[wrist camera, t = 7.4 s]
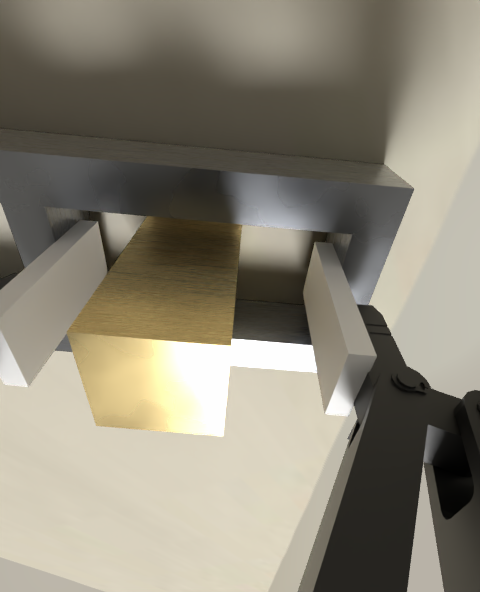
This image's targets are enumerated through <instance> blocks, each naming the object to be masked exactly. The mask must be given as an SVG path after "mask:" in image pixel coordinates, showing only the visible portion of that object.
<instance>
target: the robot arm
mask: <svg viewBox="0 0 480 592" xmlns="http://www.w3.org/2000/svg"><path fill="white" fill-rule="evenodd" d="M107 273H108V271H107V266H106V260H105V255H104V250H103V245H102V240H101V235H100V230H99V225H98V221H87V220H79V221H78V222H77V223H76V224H75V225H74V226H73V227H72V228H70V229H69V230H68V231H67V232H66V233H65V234H64V235H63V236H62V237H60V238H59V239H58V240H57V241H56V242H55V243H53V244H52V245H51V246H50V247H49V248H48V249H46V250H45V251H44V252H43V253H42V254H41V255H40V256H38V257H37V258H36V259H35V260H34V261H33V262H32V263H31V264H29V265H28V266H27V267H26V268H25V269H24V270H23V271H21V272H20V273H19V274H16V273H14V274H11V275H9V276H7V277H5V278H3V279H1V280H0V378H1V379H2V381H3V383H4V385H13V386H24V387H29V385H30V384H31V383H32V381H33V380H34V378H35V377H36V376H37V374H38V373H39V371H40V370H41V369H42V367H43V366H44V364H45V363H46V362H47V360H48V359H49V357H50V356H51V355H52V353H53V352H54V350H55V349H56V348H57V346H58V345H59V343H60V342H61V341H62V339H63V338H64V336H65V335H66V334H67V333H66V332H67V330H68V329H69V328H70V326H71V325H72V323H73V322H74V320H75V319H76V318H77V316H78V315H79V313H80V312H81V310H82V309H83V308H84V306H85V305H86V303H87V302H88V300H89V299H90V298H91V296H92V295H93V293H94V292H95V290H96V289H97V288H98V286H99V285H100V283H101V282H102V280H103V279H104V277H105V276H106V275H107ZM303 297H304V302H305V308H306V313H307V319H308V324H309V330H310V335H311V341H312V346H313V352H314V357H315V363H316V368H317V374H318V379H319V385H320V390H321V396H322V401H323V407H324V412H325V414H329V415H340V416H349V415H350V413H351V411H352V408H353V406H354V407H355V410H356V414H357V418H358V419H357V421H356V423H355V425H354V427H353V429H352V431H351V433H350V435H349V437H348V439H349V442H348V445H347V448H346V451H345V454H344V457H343V460H342V463H341V466H340V469H339V472H338V475H337V478H336V480H335V483H334V486H333V489H332V492H331V496H330V498H329V501H328V504H327V507H326V510H325V513H324V516H323V519H322V522H321V525H320V528H319V531H318V534H317V536H316V539H315V542H314V545H313V548H312V551H311V554H310V557H309V560H308V563H307V566H306V569H305V572H304V575H303V578H302V581H301V583H300V586H299V590H298V592H407V587H408V578H409V570H410V563H411V555H412V547H413V539H414V531H415V523H416V515H417V507H418V498H419V491H420V483H421V475H422V467H423V462H424V468H425V474H426V480H427V486H428V493H429V498H430V505H431V511H432V518H433V524H434V530H435V536H436V543H437V549H438V555H439V561H440V567H441V574H442V580H443V586H444V592H480V391H477V390H474V391H470V392H467V394H466V395H465V396H464V397H463V399H459V398H456V397H453V396H450V395H447V394H444V393H442V392H439V391H436V390H434V389H431V387H430V385H429V383H428V382H427V380H426V379H425V378H424V377H423V376H422V375H421V374H420V373H418V372H417V371H415V370H413V369H411V368H410V367H407V366H406V364H405V361H404V359H403V357H402V355H401V353H400V351H399V349H398V347H397V345H396V343H395V341H394V339H393V337H392V336H391V332H390V330H389V328H387V324H386V322H385V320H384V318H383V316H382V314H381V313H380V312H378V311H377V310H376V309H375V308H374V307H373V306H371V305H360V304H356V302H355V299H354V297H353V294H352V292H351V289H350V286H349V284H348V281H347V279H346V276H345V274H344V271H343V269H342V266H341V264H340V261H339V259H338V256H337V254H336V251H335V249H334V247H333V244H332V243H324V242H315V243H314V248H313V252H312V256H311V260H310V265H309V269H308V273H307V277H306V282H305V286H304V290H303Z"/></svg>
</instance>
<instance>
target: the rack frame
mask: <svg viewBox="0 0 480 592" xmlns="http://www.w3.org/2000/svg"><path fill="white" fill-rule="evenodd" d="M413 191H414V188H413V187H412V186H411V185H409V184H408V183H407V182H406V181H404V180H403V179H402V178H401V177H399V176H398V175H397V174H396V173H394V172H393V171H392V170H391V169H389V168H388V167H387V166H386V165H384V164H376V163H365V162H354V161H344V160H333V159H322V158H312V157H301V156H290V155H280V154H269V153H258V152H248V151H237V150H226V149H216V148H205V147H194V146H184V145H173V144H162V143H152V142H141V141H130V140H119V139H109V138H98V137H87V136H77V135H66V134H55V133H45V132H34V131H23V130H13V129H2V128H0V203H1V204H2V207H3V210H4V213H5V215H6V218H7V221H8V223H9V226H10V229H11V232H12V234H13V237H14V240H15V242H16V245H17V248H18V251H19V253H20V256H21V259H22V261H23V264H24V267H25V268H26V267H27V266H28V265H29V264H31V263H32V262H33V261H34V260H35V259H36V258H37V257H38V256H40V255H41V254H42V253H43V252H44V251H45V250H46V249H48V248H49V247H50V246H51V245H52V244H53V243H55V242H56V241H57V240H58V239H59V238H60V237H62V236H63V235H64V234H65V233H66V232H67V231H68V230H69V229H70V228H72V227H73V226H74V225H75V224H76V223H77V222H78V221H79V220H87V221H90V216H89V211H97V212H108V213H119V214H130V215H141V216H153V217H164V218H175V219H186V220H197V221H208V222H219V223H230V224H241V225H252V226H263V227H274V228H285V229H297V230H308V231H319V232H328V234H327V238H326V242H325V243H332V244H333V247H334V249H335V251H336V254H337V256H338V259H339V261H340V264H341V266H342V269H343V271H344V274H345V276H346V279H347V281H348V284H349V286H350V289H351V292H352V294H353V297H354V299H355V302H356V304H360V305H368V304H369V302H370V299H371V297H372V294H373V291H374V289H375V286H376V284H377V281H378V279H379V276H380V274H381V271H382V269H383V266H384V264H385V261H386V259H387V256H388V254H389V251H390V249H391V246H392V244H393V241H394V239H395V236H396V234H397V231H398V229H399V226H400V224H401V221H402V218H403V216H404V213H405V211H406V208H407V206H408V203H409V201H410V198H411V196H412V193H413ZM0 280H1V279H0ZM54 351H66V352H73V351H72V348H71V345H70V342H69V339H68V336H67V334H66V335H65V336H64V338H63V339H62V341H61V342H60V343H59V345H58V346H57V348H56V349H55V350H54ZM230 365H233V366H245V367H257V368H269V369H281V370H293V371H305V372H317V368H316V363H315V357H314V352H313V346H312V341H311V335H310V330H309V324H308V319H307V313H306V308H305V305H298V304H287V303H275V302H264V301H252V300H240V299H235V309H234V321H233V332H232V344H231V355H230Z"/></svg>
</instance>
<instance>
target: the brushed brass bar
mask: <svg viewBox="0 0 480 592" xmlns="http://www.w3.org/2000/svg"><path fill="white" fill-rule="evenodd" d="M241 228H242V225H241V224H230V223H219V222H208V221H197V220H186V219H175V218H164V217H153V216H147V217H146V219H145V220H144V222H143V223H142V225H141V226H140V227H139V229H138V230H137V232H136V233H135V235H134V236H133V237H132V239H131V240H130V242H129V243H128V245H127V246H126V247H125V249H124V250H123V252H122V253H121V255H120V256H119V257H118V259H117V260H116V262H115V263H114V265H113V266H112V267H111V269H110V270H109V272H108V273H107V275H106V276H105V277H104V279H103V280H102V282H101V283H100V285H99V286H98V288H97V289H96V290H95V292H94V293H93V295H92V296H91V298H90V299H89V300H88V302H87V303H86V305H85V306H84V308H83V309H82V310H81V312H80V313H79V315H78V316H77V318H76V319H75V320H74V322H73V323H72V325H71V326H70V328H69V329H68V330H67V332H66V333H67V336H68V339H69V342H70V345H71V348H72V351H73V354H74V358H75V361H76V364H77V367H78V370H79V373H80V376H81V379H82V383H83V386H84V389H85V392H86V395H87V398H88V401H89V404H90V407H91V411H92V414H93V417H94V420H95V423H96V426H104V427H116V428H128V429H141V430H153V431H165V432H177V433H189V434H201V435H213V436H223V432H224V421H225V410H226V399H227V388H228V377H229V366H230V355H231V344H232V332H233V321H234V309H235V298H236V286H237V275H238V263H239V252H240V240H241Z"/></svg>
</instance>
